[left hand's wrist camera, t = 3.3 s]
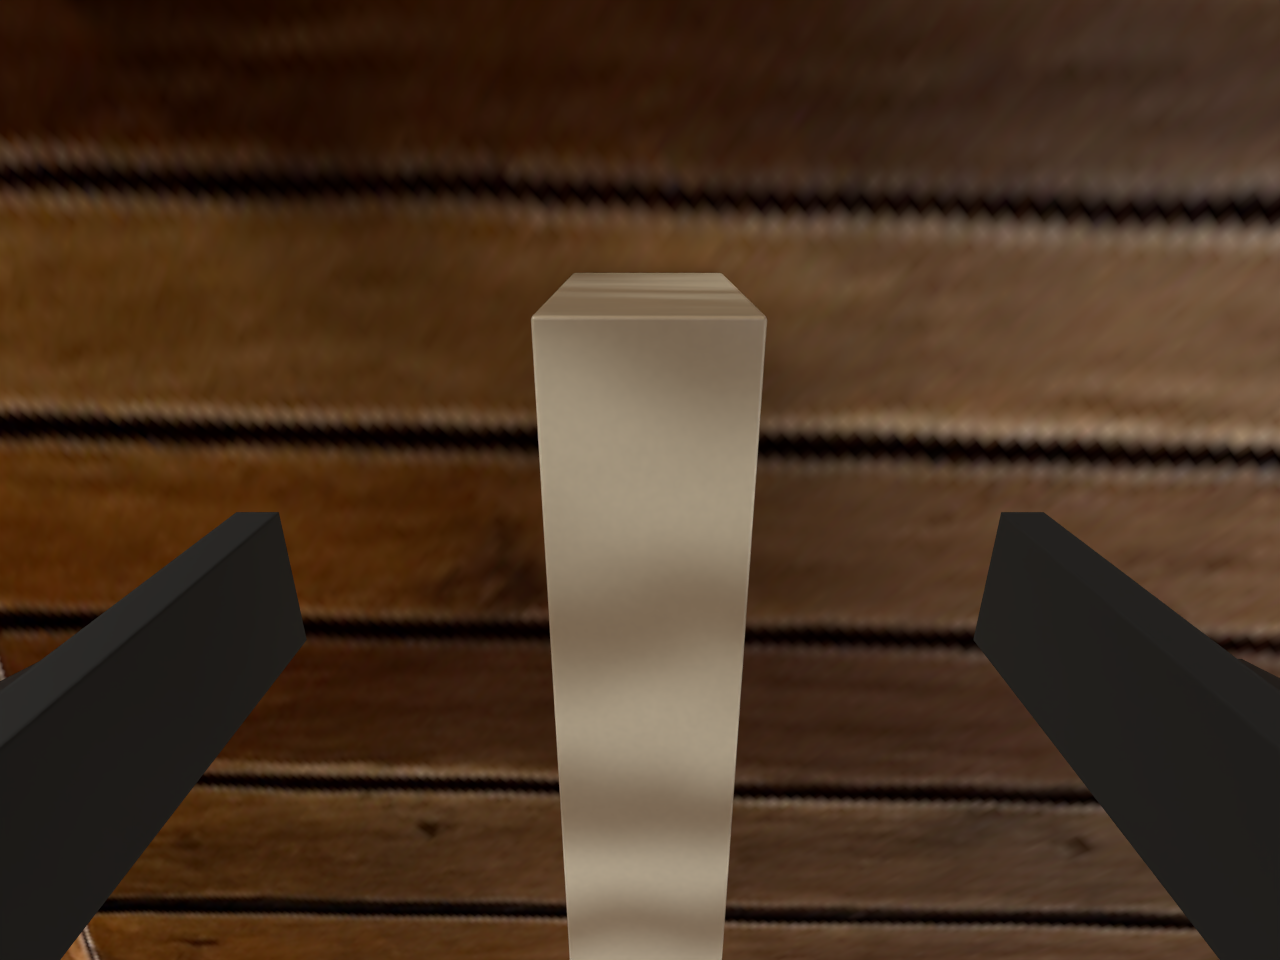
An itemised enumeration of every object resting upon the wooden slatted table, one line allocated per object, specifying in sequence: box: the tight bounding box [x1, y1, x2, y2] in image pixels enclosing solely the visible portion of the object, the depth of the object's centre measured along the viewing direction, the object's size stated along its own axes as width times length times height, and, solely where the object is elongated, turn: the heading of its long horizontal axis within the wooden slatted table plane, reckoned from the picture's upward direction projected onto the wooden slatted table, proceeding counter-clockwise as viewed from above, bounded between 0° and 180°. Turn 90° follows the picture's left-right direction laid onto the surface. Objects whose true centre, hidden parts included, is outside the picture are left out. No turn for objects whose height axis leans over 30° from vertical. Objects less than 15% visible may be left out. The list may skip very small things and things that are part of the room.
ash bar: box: [531, 273, 767, 960], centre depth 23 cm, size 25×5×9 cm, turn 0°
